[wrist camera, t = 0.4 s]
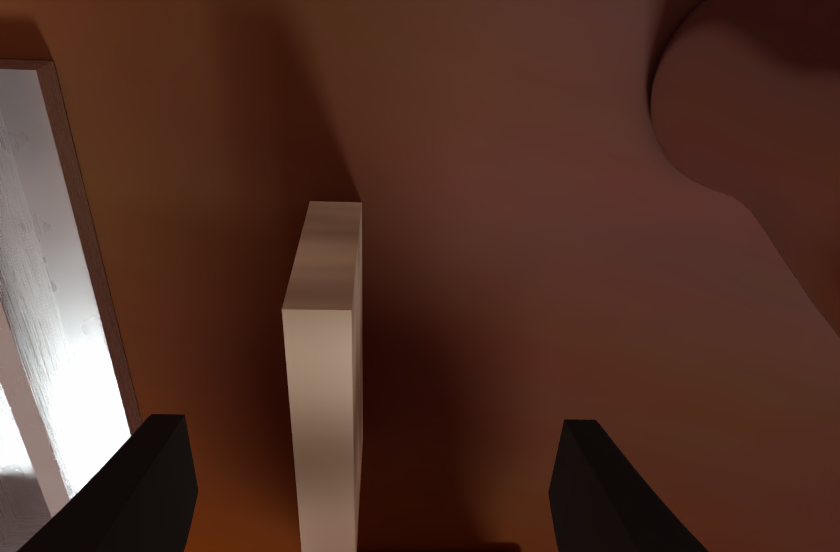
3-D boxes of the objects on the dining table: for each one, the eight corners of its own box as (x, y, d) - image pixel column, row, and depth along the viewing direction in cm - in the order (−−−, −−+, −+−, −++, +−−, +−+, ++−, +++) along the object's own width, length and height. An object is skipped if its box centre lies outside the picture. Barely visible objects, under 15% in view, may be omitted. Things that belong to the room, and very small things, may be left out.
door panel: (362, 434, 25) (355, 575, 20) (321, 434, 25) (303, 575, 20) (362, 201, 20) (351, 310, 15) (310, 199, 20) (281, 308, 15)
